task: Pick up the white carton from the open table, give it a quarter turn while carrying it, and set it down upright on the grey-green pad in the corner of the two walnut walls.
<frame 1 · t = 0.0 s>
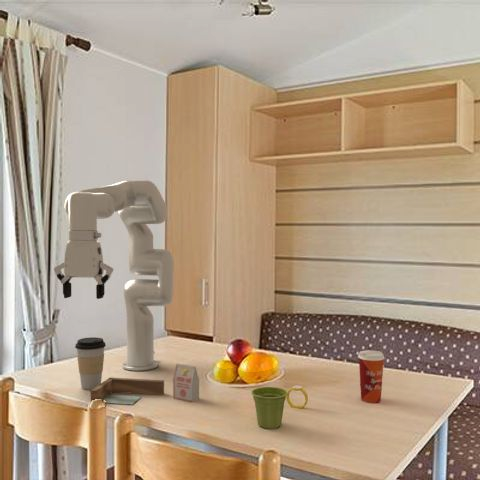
hand: (83, 297, 158), 31 cm above the table, tool pointing down, fingers open, 9 cm apart
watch: (297, 407, 160), on the table
paper cup: (371, 400, 166), on the table
white carton: (186, 399, 167), on the table
corner walls: (112, 392, 173), on the table
plant pot: (269, 425, 146), on the table
coffee cup: (90, 387, 179), on the table
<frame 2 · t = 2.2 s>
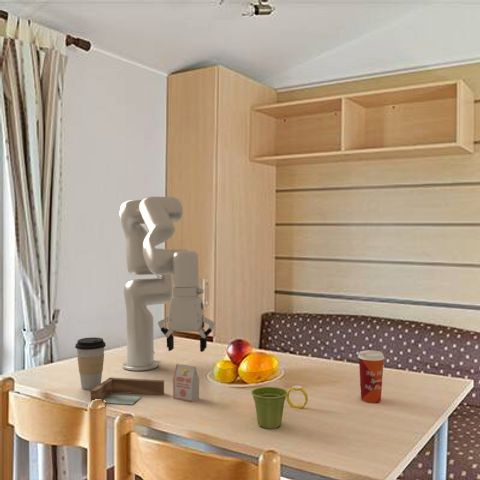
hand: (186, 350, 166), 14 cm above the table, tool pointing down, fingers open, 9 cm apart
nothing on the table moved.
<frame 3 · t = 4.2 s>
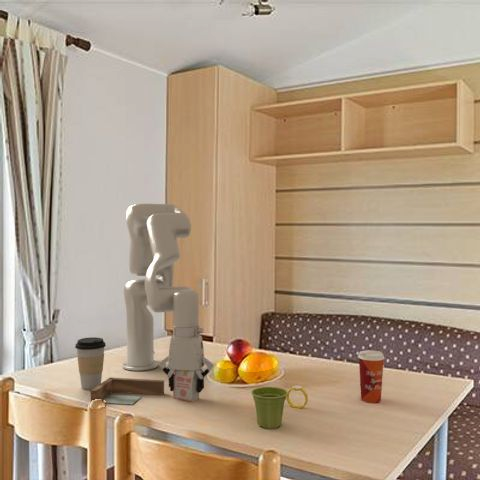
hand: (186, 390, 167), 2 cm above the table, tool pointing down, fingers closed on white carton, 7 cm apart
white carton: (186, 399, 167), on the table, touching gripper
everything else where it was.
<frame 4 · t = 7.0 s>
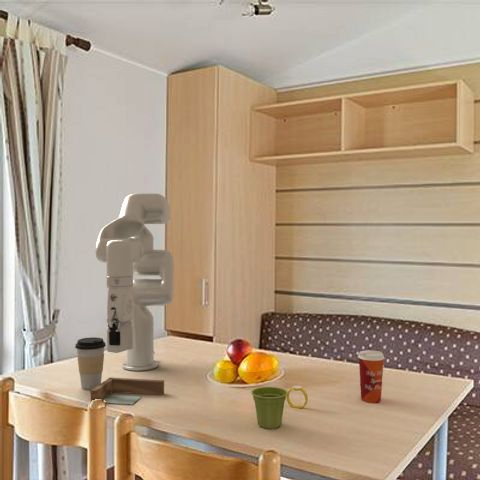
hand: (120, 341, 165), 17 cm above the table, tool pointing down, fingers closed on white carton, 7 cm apart
white carton: (120, 350, 165), point 15 cm above the table, touching gripper
everything else where it was.
when the fingers open (4 cm above the table, at t = 10.3 s): white carton drops 1 cm, resting on corner walls.
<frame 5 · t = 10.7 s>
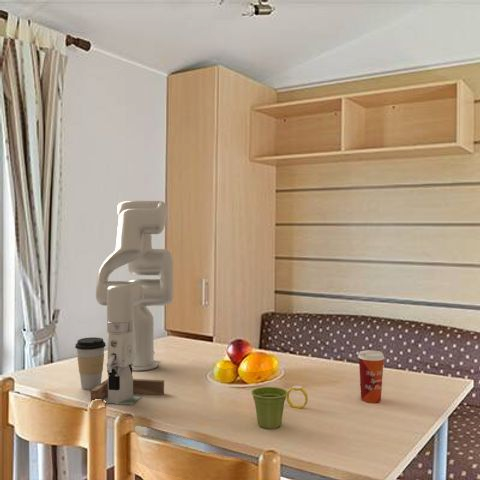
hand: (120, 384, 165), 5 cm above the table, tool pointing down, fingers open, 9 cm apart
white carton: (120, 399, 166), resting on corner walls
everything else where it was.
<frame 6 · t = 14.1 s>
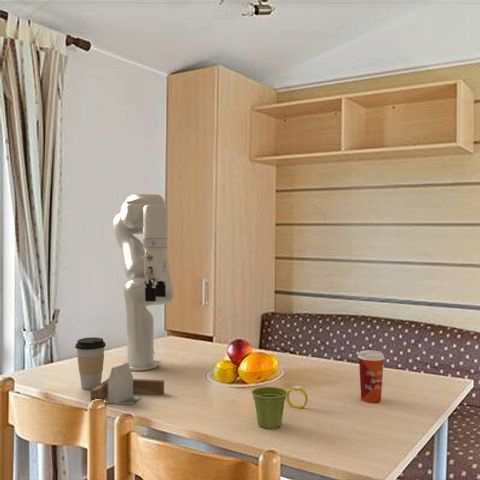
hand: (155, 298, 176), 28 cm above the table, tool pointing down, fingers open, 9 cm apart
nothing on the table moved.
at the end: white carton inside the target area on the corner walls (0.2 cm from its centre), point 0.1 cm above the corner walls's base; white carton tilted 0°; the gripper is holding nothing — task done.
